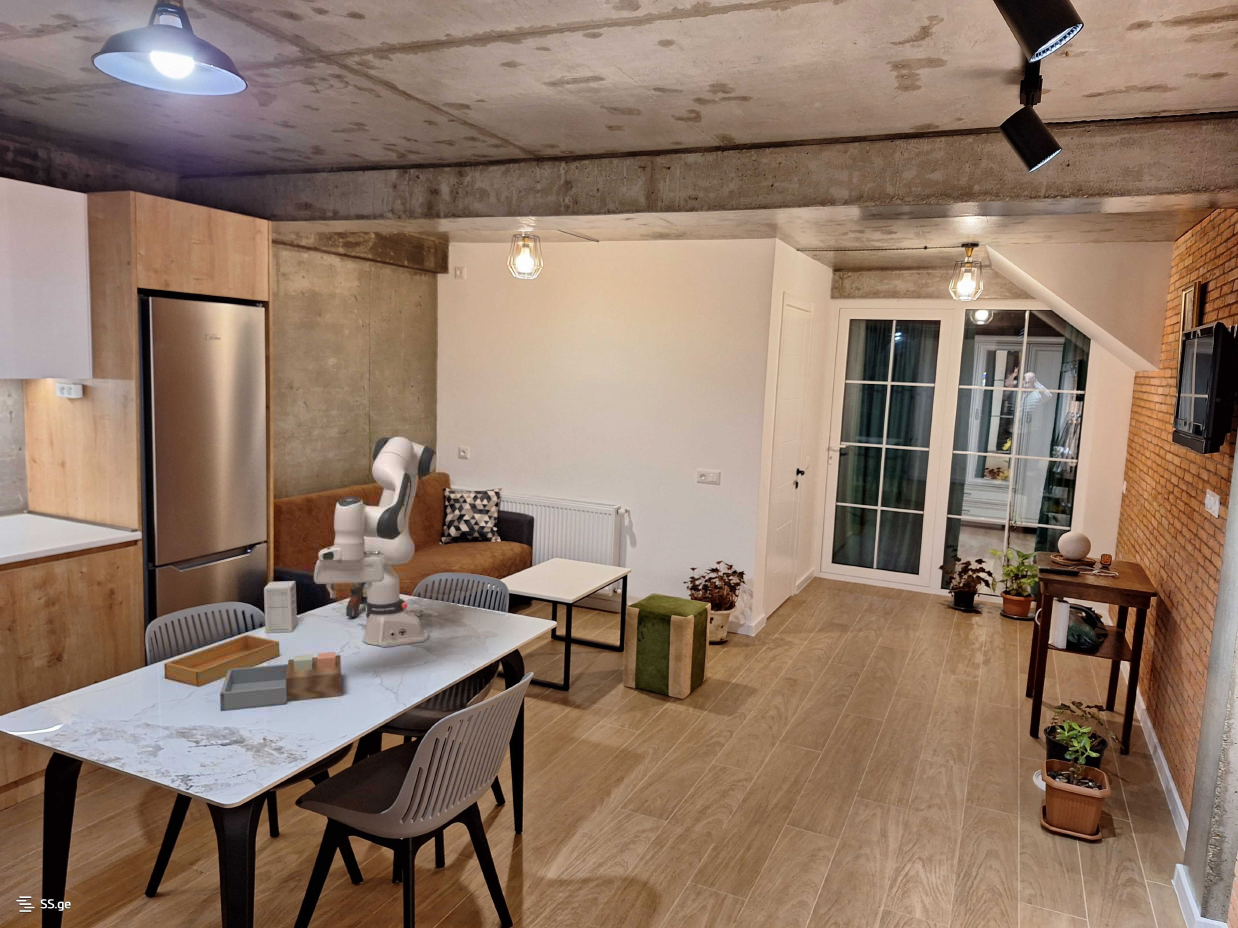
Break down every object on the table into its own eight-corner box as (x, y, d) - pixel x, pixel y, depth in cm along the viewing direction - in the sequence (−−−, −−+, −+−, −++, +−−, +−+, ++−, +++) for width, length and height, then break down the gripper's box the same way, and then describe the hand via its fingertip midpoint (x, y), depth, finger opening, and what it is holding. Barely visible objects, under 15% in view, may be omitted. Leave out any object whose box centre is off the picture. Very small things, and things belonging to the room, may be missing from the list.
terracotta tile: (335, 661, 253) (335, 651, 253) (335, 667, 248) (335, 657, 248) (317, 663, 251) (317, 653, 251) (317, 668, 247) (317, 658, 246)
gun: (381, 616, 344) (385, 580, 346) (355, 616, 317) (359, 577, 319) (370, 616, 344) (373, 579, 347) (342, 616, 317) (346, 576, 320)
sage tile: (312, 663, 251) (312, 653, 250) (312, 669, 246) (312, 659, 246) (294, 665, 249) (294, 655, 249) (294, 670, 244) (294, 660, 244)
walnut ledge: (340, 676, 259) (340, 655, 258) (341, 695, 244) (341, 672, 243) (289, 681, 254) (288, 659, 254) (286, 701, 239) (286, 678, 239)
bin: (289, 679, 256) (289, 663, 256) (286, 704, 237) (285, 687, 237) (228, 685, 251) (228, 669, 250) (220, 710, 232) (220, 693, 231)
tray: (198, 688, 249) (198, 670, 248) (164, 679, 255) (163, 661, 254) (280, 657, 276) (279, 641, 276) (247, 650, 283) (246, 634, 282)
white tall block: (297, 624, 311) (296, 580, 309) (292, 632, 302) (291, 586, 300) (270, 625, 309) (269, 581, 307) (264, 633, 300) (263, 587, 298)
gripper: (385, 549, 256) (384, 593, 257) (314, 550, 250) (314, 595, 252) (385, 553, 250) (385, 598, 251) (313, 554, 244) (313, 600, 246)
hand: (349, 596), depth 251 cm, fingers open, 8 cm apart
